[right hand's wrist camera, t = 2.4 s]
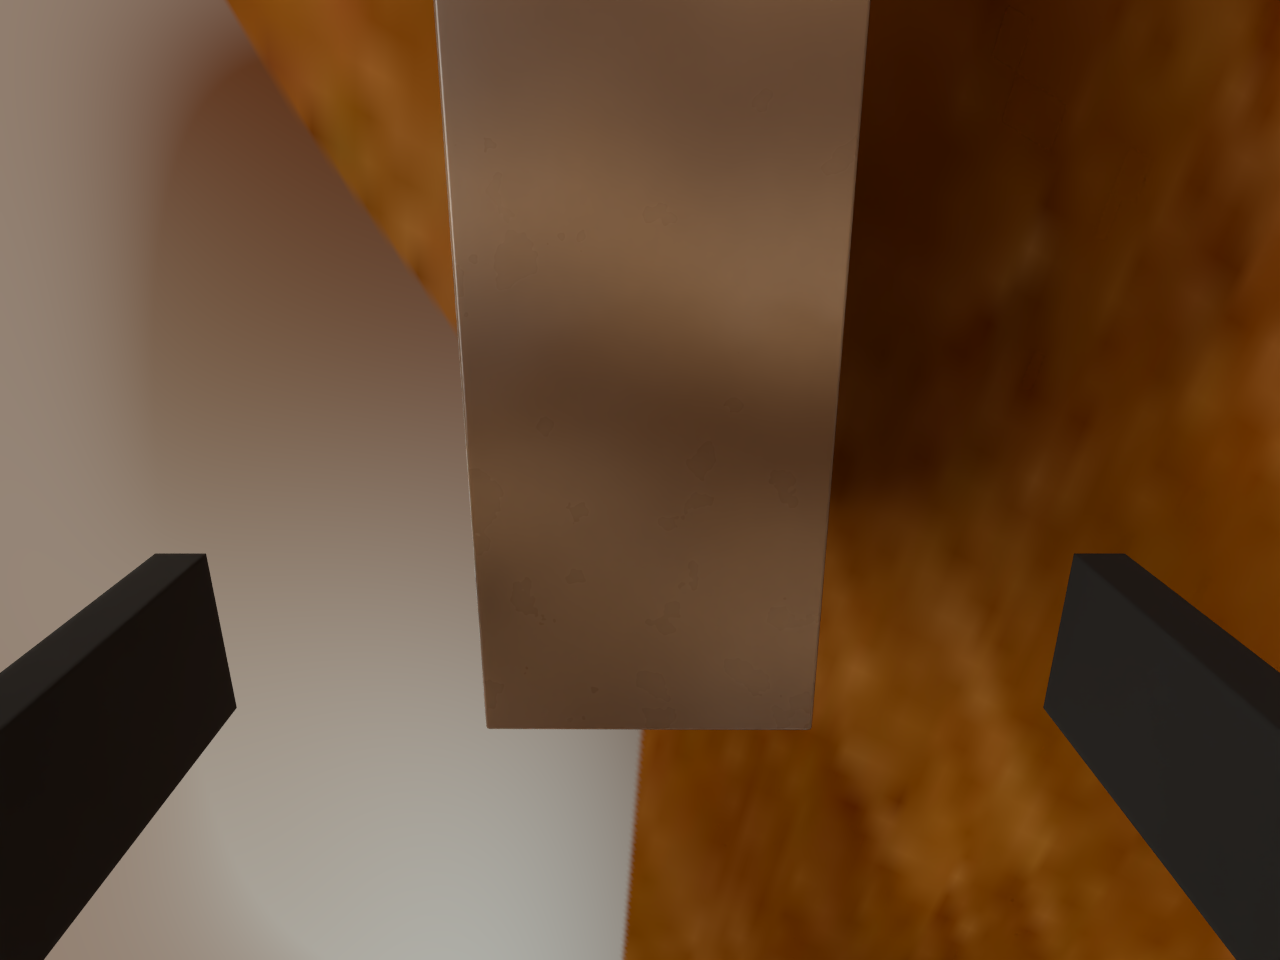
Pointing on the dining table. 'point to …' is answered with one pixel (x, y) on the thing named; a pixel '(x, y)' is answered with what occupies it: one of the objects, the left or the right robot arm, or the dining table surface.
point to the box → (650, 346)
